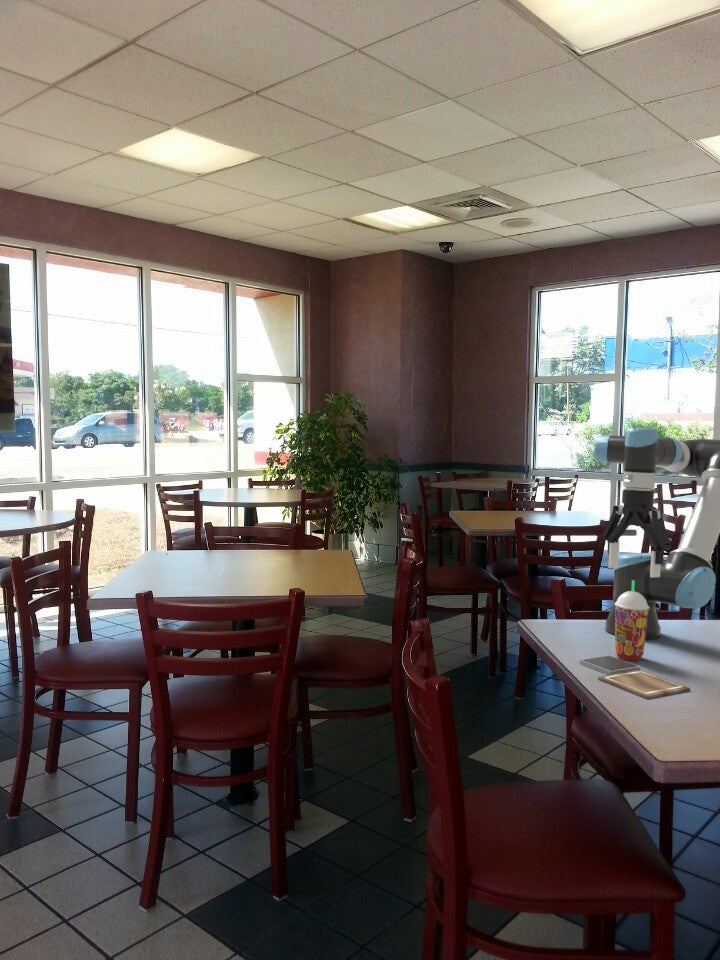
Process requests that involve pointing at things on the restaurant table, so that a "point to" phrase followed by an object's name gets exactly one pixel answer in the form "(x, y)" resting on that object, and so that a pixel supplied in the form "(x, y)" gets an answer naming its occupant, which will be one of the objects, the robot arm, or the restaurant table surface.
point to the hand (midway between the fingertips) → (633, 572)
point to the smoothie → (630, 625)
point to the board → (644, 684)
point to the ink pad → (609, 665)
